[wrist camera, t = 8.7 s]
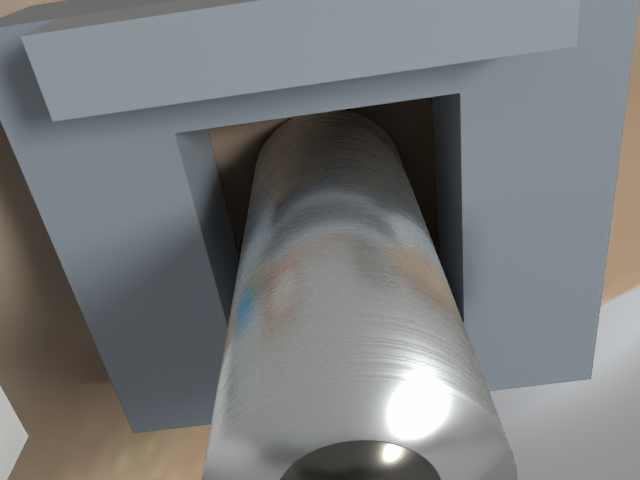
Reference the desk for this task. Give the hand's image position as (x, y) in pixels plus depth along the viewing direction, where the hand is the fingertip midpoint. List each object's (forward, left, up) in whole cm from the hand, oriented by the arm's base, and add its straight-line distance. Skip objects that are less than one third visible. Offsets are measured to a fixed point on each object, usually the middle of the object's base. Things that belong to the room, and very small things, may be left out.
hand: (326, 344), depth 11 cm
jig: (0, 0, -8) cm, 8 cm away
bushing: (0, 0, -8) cm, 8 cm away
